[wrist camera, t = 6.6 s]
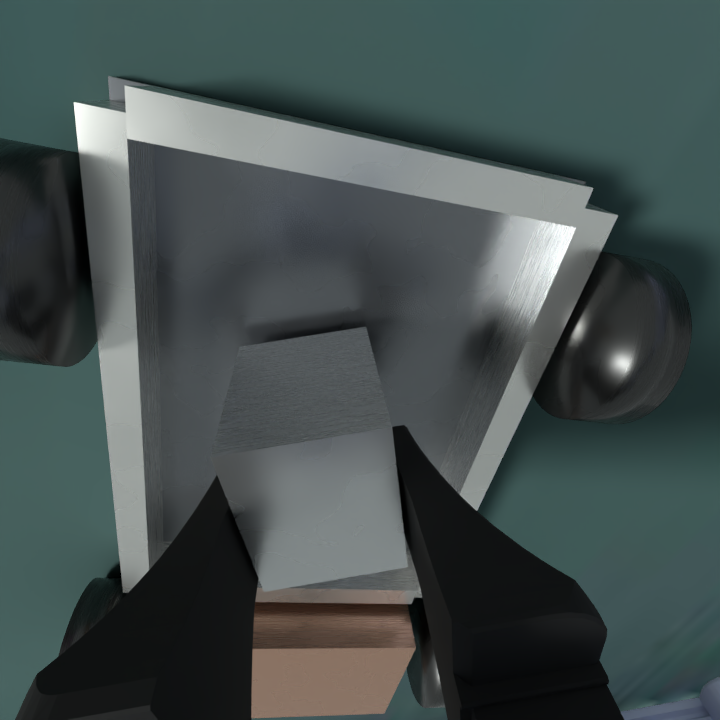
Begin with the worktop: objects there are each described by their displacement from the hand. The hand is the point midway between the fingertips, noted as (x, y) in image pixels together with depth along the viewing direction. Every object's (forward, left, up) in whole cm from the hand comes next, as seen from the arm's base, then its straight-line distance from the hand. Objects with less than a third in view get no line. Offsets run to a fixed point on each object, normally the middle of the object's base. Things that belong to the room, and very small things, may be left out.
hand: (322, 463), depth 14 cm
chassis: (0, +3, -3) cm, 5 cm away
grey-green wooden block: (0, -1, -2) cm, 2 cm away
